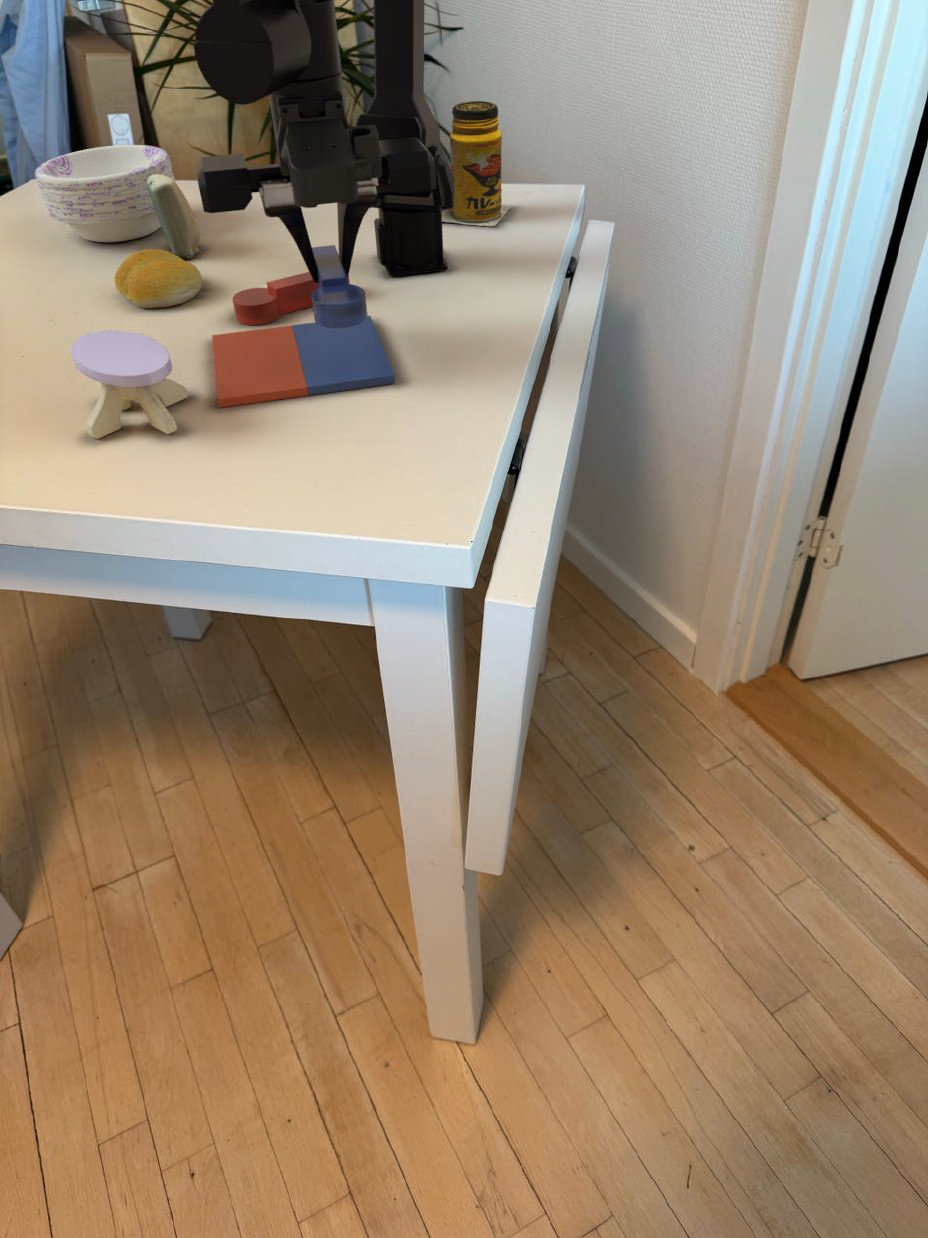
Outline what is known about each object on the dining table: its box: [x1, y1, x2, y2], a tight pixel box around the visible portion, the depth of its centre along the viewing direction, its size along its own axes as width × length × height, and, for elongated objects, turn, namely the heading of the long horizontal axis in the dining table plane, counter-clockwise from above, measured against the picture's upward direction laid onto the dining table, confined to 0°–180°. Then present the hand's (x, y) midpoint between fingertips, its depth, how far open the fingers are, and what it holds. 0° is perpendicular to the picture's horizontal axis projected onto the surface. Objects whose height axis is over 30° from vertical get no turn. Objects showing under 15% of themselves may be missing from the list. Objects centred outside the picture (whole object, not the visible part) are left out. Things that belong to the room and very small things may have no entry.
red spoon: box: [232, 271, 351, 326], centre depth 87 cm, size 12×4×3 cm, turn 124°
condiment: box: [442, 100, 512, 227], centre depth 104 cm, size 7×8×12 cm
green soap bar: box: [147, 174, 202, 261], centre depth 98 cm, size 6×5×8 cm
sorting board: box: [211, 315, 396, 409], centre depth 78 cm, size 15×13×1 cm
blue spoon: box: [311, 244, 368, 328], centre depth 75 cm, size 12×4×3 cm, turn 14°
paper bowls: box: [34, 144, 176, 243], centre depth 104 cm, size 15×15×8 cm
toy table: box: [70, 329, 189, 440], centre depth 70 cm, size 10×9×6 cm
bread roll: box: [114, 248, 203, 309], centre depth 90 cm, size 8×9×4 cm
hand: (330, 279), depth 77 cm, fingers closed on blue spoon, 2 cm apart
